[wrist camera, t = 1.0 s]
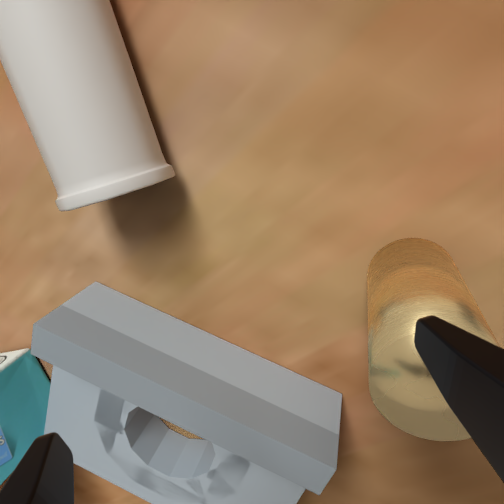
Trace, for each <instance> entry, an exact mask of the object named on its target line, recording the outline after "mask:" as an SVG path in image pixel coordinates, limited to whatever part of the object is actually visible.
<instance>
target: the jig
mask: <svg viewBox="0 0 504 504" xmlns="http://www.w3.org/2000/svg"><path fill="white" fill-rule="evenodd" d="M31 354H32V355H34V356H36V357H38V358H40V359H42V360H44V361H46V362H48V363H50V364H52V365H53V371H52V378H51V386H50V393H49V400H48V408H47V415H46V422H45V430H44V435H45V434H48V433H51V432H56V433H58V434H59V435H60V437H61V438H62V439H63V440H64V442H65V443H66V444H67V445H68V447H69V448H70V449H71V451H72V454H73V463H74V464H76V465H78V466H80V467H82V468H84V469H86V470H88V471H90V472H92V473H94V474H96V475H98V476H100V477H101V478H103V479H105V480H107V481H109V482H111V483H113V484H115V485H117V486H119V487H121V488H123V489H125V490H127V491H129V492H130V493H132V494H134V495H136V496H138V497H140V498H142V499H144V500H146V501H148V502H150V503H152V504H296V503H297V502H298V500H299V499H300V497H301V495H302V494H303V492H304V491H305V489H307V490H309V491H311V492H314V493H316V494H318V495H320V494H321V492H322V491H323V489H324V488H325V486H326V485H327V483H328V482H329V480H330V479H331V477H332V476H333V474H334V472H335V471H336V469H337V457H338V443H339V430H340V417H341V403H342V394H341V393H339V392H336V391H334V390H332V389H330V388H328V387H326V386H323V385H321V384H319V383H317V382H315V381H312V380H310V379H308V378H306V377H304V376H301V375H299V374H297V373H295V372H293V371H291V370H288V369H286V368H284V367H282V366H280V365H277V364H275V363H273V362H271V361H269V360H266V359H264V358H262V357H260V356H258V355H256V354H253V353H251V352H249V351H247V350H245V349H242V348H240V347H238V346H236V345H234V344H231V343H229V342H227V341H225V340H223V339H220V338H218V337H216V336H214V335H212V334H210V333H207V332H205V331H203V330H201V329H199V328H196V327H194V326H192V325H190V324H188V323H185V322H183V321H181V320H179V319H177V318H175V317H172V316H170V315H168V314H166V313H164V312H161V311H159V310H157V309H155V308H153V307H150V306H148V305H146V304H144V303H142V302H140V301H137V300H135V299H133V298H131V297H129V296H126V295H124V294H122V293H120V292H118V291H115V290H113V289H111V288H109V287H107V286H105V285H102V284H100V283H98V282H96V281H95V282H94V283H92V284H91V285H90V286H88V287H87V288H85V289H84V290H82V291H81V292H79V293H78V294H76V295H75V296H74V297H72V298H71V299H69V300H68V301H66V302H65V303H63V304H62V305H60V306H59V307H57V308H56V309H55V310H53V311H52V312H50V313H49V314H47V315H46V316H44V317H43V318H41V319H40V320H39V321H37V322H36V323H34V324H33V334H32V344H31ZM159 417H160V418H162V419H164V420H167V421H169V422H171V423H173V424H175V425H177V426H179V427H181V428H183V429H185V430H187V431H189V432H191V433H193V434H195V435H197V436H199V437H201V438H203V439H189V438H187V437H185V436H183V435H181V434H179V433H177V432H175V431H173V430H171V429H169V428H168V427H167V426H166V425H165V424H164V423H163V421H162V420H161V419H160V418H159ZM204 439H205V440H204Z"/></svg>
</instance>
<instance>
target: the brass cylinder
mask: <svg viewBox="0 0 504 504" xmlns="http://www.w3.org/2000/svg"><path fill="white" fill-rule="evenodd" d="M367 296H368V362H369V390H370V395H371V397H372V400H373V402H374V404H375V406H376V408H377V409H378V410H379V412H380V413H381V414H382V415H383V416H384V417H385V419H387V420H388V421H389V422H390V423H391V424H393V425H394V426H396V427H397V428H399V429H400V430H402V431H404V432H406V433H409V434H411V435H414V436H417V437H420V438H423V439H428V440H435V441H459V440H465V439H470V438H471V436H470V435H469V434H468V432H467V431H466V429H465V428H464V427H463V425H462V424H461V422H460V421H459V420H458V418H457V417H456V415H455V414H454V413H453V411H452V410H451V408H450V407H449V405H448V404H447V402H446V401H445V399H444V397H443V396H442V394H441V392H440V390H439V389H438V387H437V385H436V383H435V382H434V380H433V378H432V376H431V375H430V373H429V371H428V369H427V367H426V366H425V364H424V362H423V360H422V359H421V357H420V355H419V353H418V352H417V350H416V347H415V344H414V337H415V328H416V322H417V320H418V319H420V318H423V317H426V316H430V315H433V316H437V317H439V318H441V319H443V320H445V321H447V322H449V323H451V324H453V325H455V326H457V327H459V328H461V329H463V330H466V331H468V332H470V333H472V334H474V335H476V336H478V337H480V338H482V339H484V340H486V341H488V342H490V343H492V344H494V345H496V346H499V344H498V342H497V340H496V339H495V337H494V335H493V333H492V331H491V329H490V328H489V326H488V324H487V322H486V320H485V318H484V317H483V315H482V313H481V311H480V309H479V307H478V305H477V304H476V302H475V300H474V298H473V296H472V294H471V293H470V291H469V289H468V287H467V285H466V283H465V281H464V280H463V278H462V276H461V274H460V272H459V270H458V269H457V267H456V265H455V263H454V261H453V259H452V258H451V256H450V255H449V254H448V253H447V251H446V250H444V249H443V248H442V247H441V246H439V245H437V244H436V243H433V242H431V241H428V240H425V239H419V238H407V239H401V240H397V241H394V242H392V243H390V244H388V245H386V246H385V247H383V248H382V249H381V250H380V251H378V252H377V254H376V255H375V256H374V257H373V259H372V261H371V263H370V265H369V268H368V273H367ZM499 347H500V346H499Z"/></svg>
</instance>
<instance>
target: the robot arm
mask: <svg viewBox="0 0 504 504" xmlns="http://www.w3.org/2000/svg"><path fill="white" fill-rule="evenodd" d="M414 344H415V347H416V350H417V352H418V353H419V355H420V357H421V359H422V360H423V362H424V364H425V366H426V367H427V369H428V371H429V373H430V375H431V376H432V378H433V380H434V382H435V383H436V385H437V387H438V389H439V390H440V392H441V394H442V396H443V397H444V399H445V401H446V402H447V404H448V405H449V407H450V408H451V410H452V411H453V413H454V414H455V415H456V417H457V418H458V420H459V421H460V422H461V424H462V425H463V427H464V428H465V429H466V431H467V432H468V434H469V435H470V436H471V438H472V439H473V441H474V442H475V443H476V445H477V446H478V448H479V449H480V450H481V452H482V453H483V455H484V456H485V457H486V459H487V460H488V462H489V463H490V464H491V466H492V467H493V469H494V470H495V471H496V473H497V474H498V476H499V477H500V478H501V480H502V481H503V483H504V349H503V348H501V347H499V346H496V345H494V344H492V343H490V342H488V341H486V340H484V339H482V338H480V337H478V336H476V335H474V334H472V333H470V332H468V331H466V330H463V329H461V328H459V327H457V326H455V325H453V324H451V323H449V322H447V321H445V320H443V319H441V318H439V317H437V316H433V315H430V316H426V317H423V318H420V319H418V320H417V322H416V328H415V337H414ZM0 504H74V469H73V454H72V451H71V449H70V448H69V447H68V445H67V444H66V443H65V442H64V440H63V439H62V438H61V437H60V435H59V434H58V433H56V432H51V433H48V434H45V435H42V436H39V437H37V438H36V439H35V440H34V441H33V443H32V444H31V446H30V447H29V449H28V450H27V452H26V453H25V455H24V456H23V458H22V459H21V461H20V462H19V464H18V465H17V467H16V468H15V470H14V471H13V473H12V474H11V476H10V477H9V479H8V480H7V482H6V483H5V485H4V486H3V488H2V489H1V491H0Z"/></svg>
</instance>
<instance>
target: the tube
mask: <svg viewBox="0 0 504 504" xmlns="http://www.w3.org/2000/svg"><path fill="white" fill-rule="evenodd" d="M0 60H1V63H2V65H3V67H4V69H5V72H6V74H7V76H8V79H9V81H10V83H11V86H12V88H13V90H14V93H15V95H16V97H17V100H18V102H19V104H20V107H21V109H22V111H23V114H24V116H25V118H26V121H27V123H28V125H29V128H30V130H31V132H32V134H33V137H34V139H35V141H36V144H37V146H38V148H39V151H40V153H41V155H42V158H43V160H44V162H45V165H46V167H47V169H48V172H49V174H50V176H51V179H52V181H53V183H54V186H55V188H56V191H57V194H58V198H57V200H56V201H55V202H56V204H57V207H58V209H59V211H70V210H74V209H77V208H81V207H84V206H88V205H91V204H95V203H98V202H102V201H105V200H109V199H112V198H115V197H118V196H121V195H124V194H127V193H130V192H133V191H136V190H139V189H142V188H145V187H148V186H151V185H154V184H157V183H159V182H162V181H164V180H167V179H169V178H172V177H174V176H175V172H174V170H173V167H172V165H169V164H167V163H166V161H165V159H164V157H163V154H162V151H161V148H160V145H159V142H158V139H157V137H156V134H155V131H154V128H153V125H152V122H151V119H150V116H149V113H148V110H147V108H146V105H145V102H144V99H143V96H142V93H141V90H140V87H139V84H138V82H137V79H136V76H135V73H134V70H133V67H132V64H131V61H130V58H129V56H128V53H127V50H126V47H125V44H124V41H123V38H122V35H121V32H120V30H119V27H118V24H117V21H116V18H115V15H114V12H113V9H112V6H111V4H110V1H109V0H0Z"/></svg>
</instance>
